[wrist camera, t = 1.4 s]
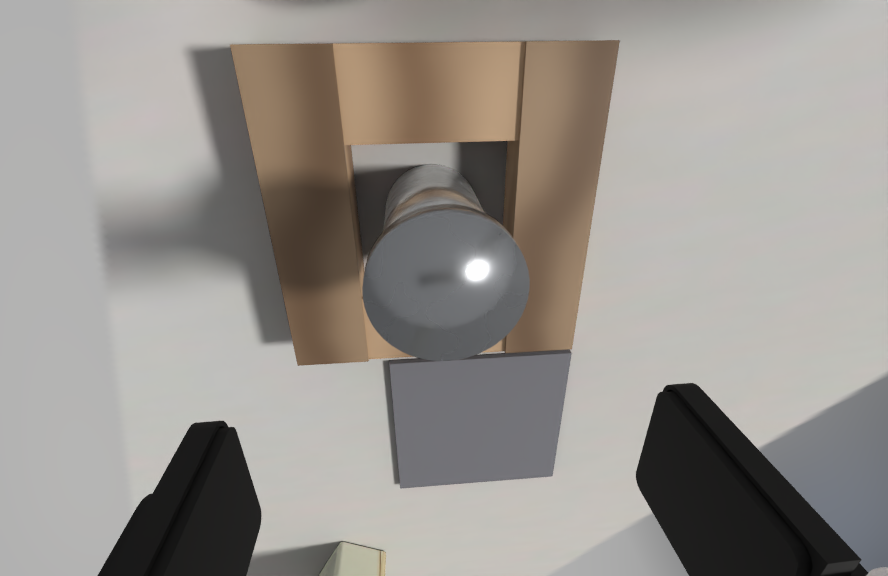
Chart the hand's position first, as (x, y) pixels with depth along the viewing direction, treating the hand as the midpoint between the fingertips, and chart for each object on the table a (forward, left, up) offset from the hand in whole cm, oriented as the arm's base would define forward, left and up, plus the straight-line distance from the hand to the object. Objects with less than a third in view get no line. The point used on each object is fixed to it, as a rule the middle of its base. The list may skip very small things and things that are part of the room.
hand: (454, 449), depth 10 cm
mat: (-3, +16, -16) cm, 23 cm away
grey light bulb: (0, 0, -16) cm, 16 cm away
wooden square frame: (0, 0, -16) cm, 16 cm away
